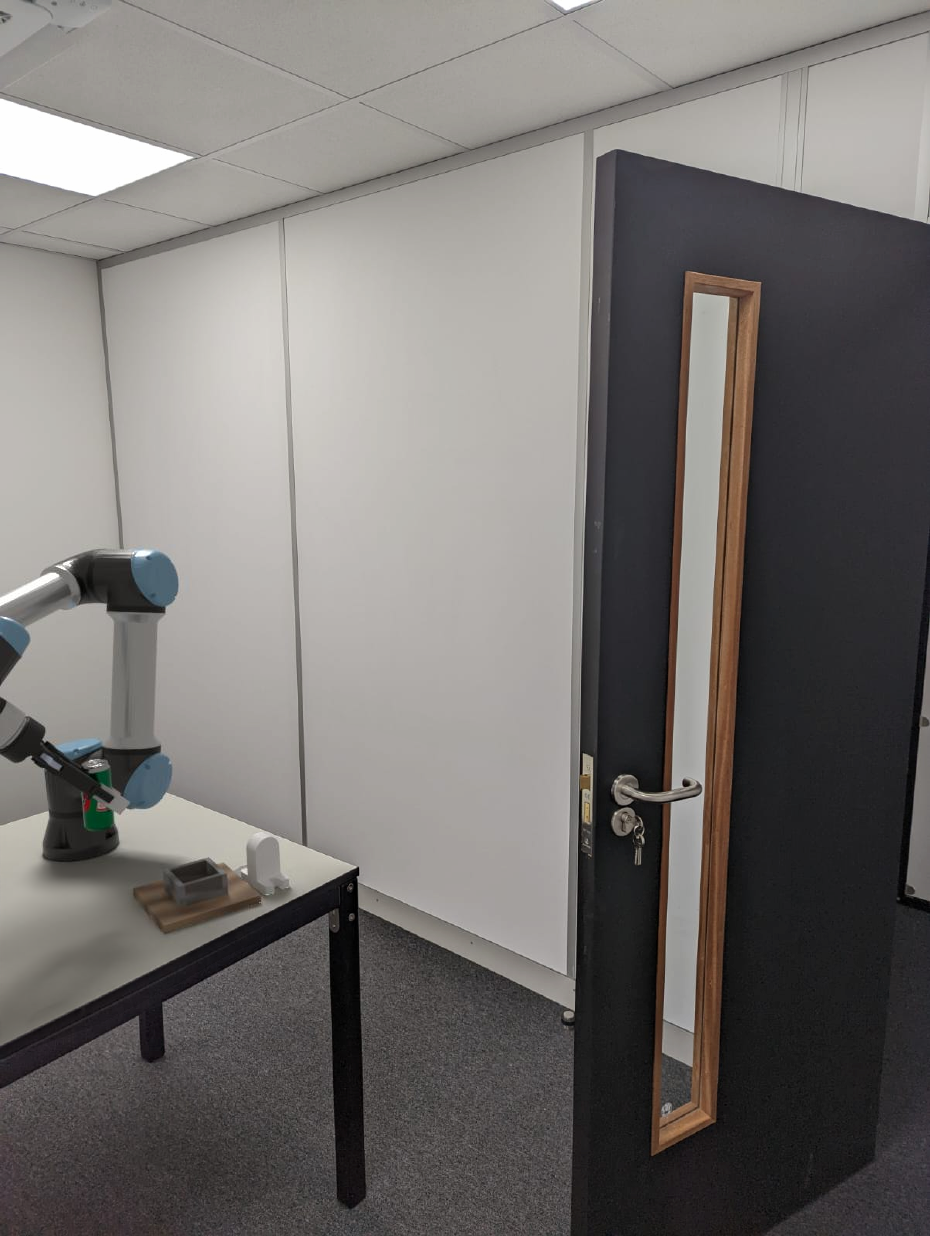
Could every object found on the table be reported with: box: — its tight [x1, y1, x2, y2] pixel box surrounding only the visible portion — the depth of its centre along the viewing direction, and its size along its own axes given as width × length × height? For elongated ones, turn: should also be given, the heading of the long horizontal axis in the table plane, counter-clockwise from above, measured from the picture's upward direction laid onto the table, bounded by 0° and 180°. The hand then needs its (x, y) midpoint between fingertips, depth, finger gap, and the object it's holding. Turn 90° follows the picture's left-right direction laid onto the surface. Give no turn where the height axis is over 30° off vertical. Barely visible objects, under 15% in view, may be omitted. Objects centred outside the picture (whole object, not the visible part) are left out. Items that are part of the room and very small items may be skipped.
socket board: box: [132, 857, 262, 934], centre depth 163 cm, size 18×18×6 cm
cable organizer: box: [240, 831, 290, 895], centre depth 169 cm, size 5×10×10 cm, turn 44°
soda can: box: [80, 759, 116, 831], centre depth 155 cm, size 5×5×12 cm
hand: (119, 803), depth 157 cm, fingers closed on soda can, 5 cm apart
